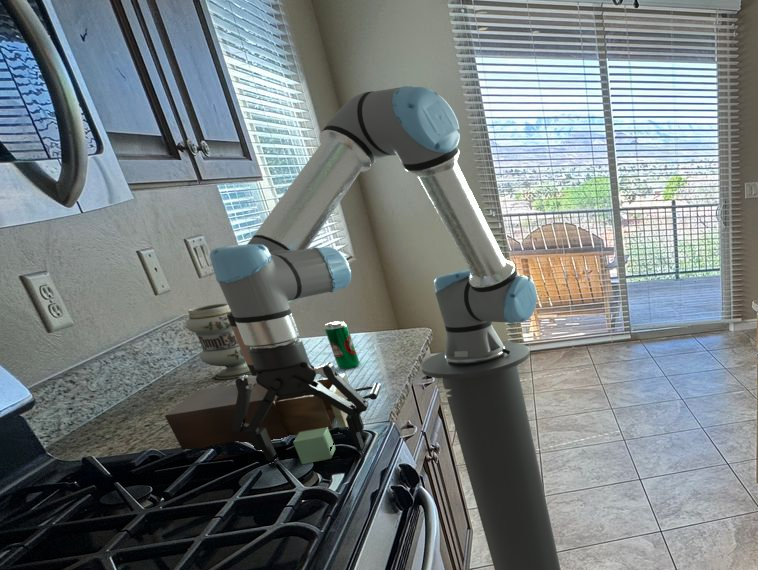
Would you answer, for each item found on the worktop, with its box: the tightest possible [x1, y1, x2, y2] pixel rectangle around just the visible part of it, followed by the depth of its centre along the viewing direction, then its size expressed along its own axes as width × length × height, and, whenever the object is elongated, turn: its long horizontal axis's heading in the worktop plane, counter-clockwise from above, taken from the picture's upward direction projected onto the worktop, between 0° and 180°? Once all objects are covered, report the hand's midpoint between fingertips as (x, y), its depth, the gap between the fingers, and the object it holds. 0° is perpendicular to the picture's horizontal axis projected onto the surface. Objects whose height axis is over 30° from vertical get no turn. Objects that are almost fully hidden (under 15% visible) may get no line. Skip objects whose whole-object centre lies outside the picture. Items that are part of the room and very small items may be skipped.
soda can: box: [324, 320, 361, 370], centre depth 149 cm, size 5×5×12 cm
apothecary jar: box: [185, 303, 252, 380], centre depth 148 cm, size 12×12×18 cm
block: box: [293, 427, 336, 465], centre depth 102 cm, size 4×4×4 cm
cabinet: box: [164, 383, 289, 461], centre depth 109 cm, size 16×14×10 cm
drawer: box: [275, 372, 382, 435], centre depth 113 cm, size 21×13×8 cm, turn 113°
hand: (318, 455), depth 102 cm, fingers open, 13 cm apart
